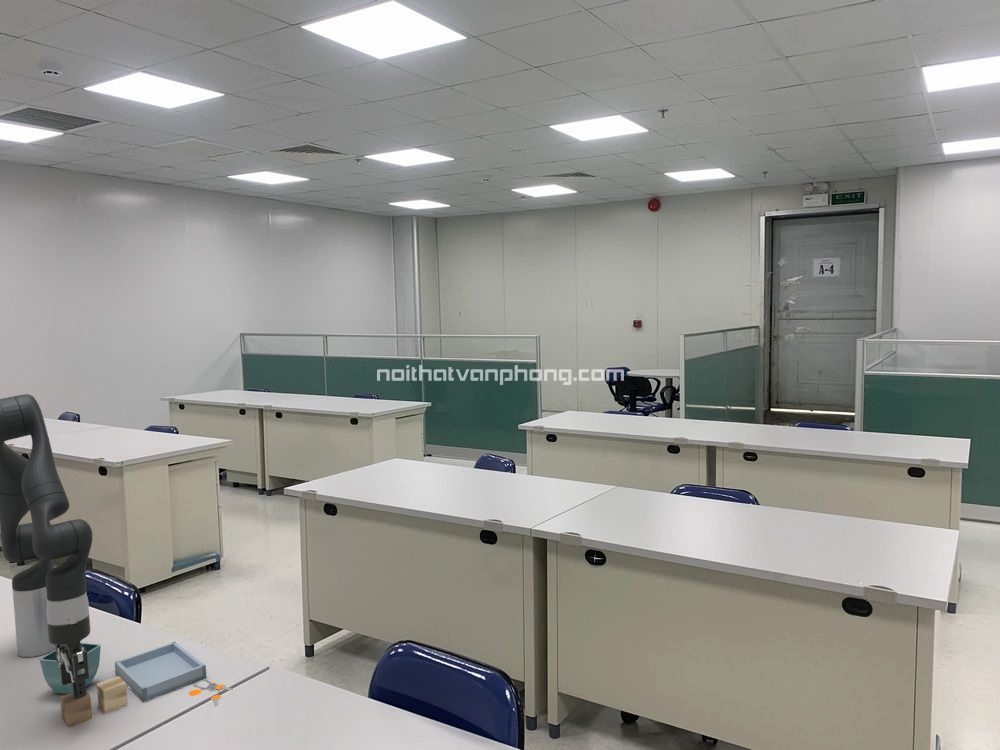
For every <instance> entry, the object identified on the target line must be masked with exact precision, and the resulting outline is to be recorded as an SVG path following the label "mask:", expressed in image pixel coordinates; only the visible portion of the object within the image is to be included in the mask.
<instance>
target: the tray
mask: <svg viewBox="0 0 1000 750" xmlns="http://www.w3.org/2000/svg"><path fill="white" fill-rule="evenodd" d="M206 667H207V666H206V664H205V663H204V662H202V661H200V659H198V658H197V657H195V656H194V655H193V654H192V653H190V652H189V651H187V649H185V648H183V647H182V645H180V644H179V643H177V642H176V641H173V642H170V643H167V644H163V645H160V646H158V647H156V648H151V649H150V650H147V651H144V652H140V653H138V654H134V655H131V656H130V657H129V656H128V657H126V658H123V659H120V660H117V661H115V662H114V668H115V669H114V671H115V675H116V676H117V675H118V676H119V677H120V678H121V679H122V680H124V681H125V682H126V684H127V685H128V686H129V687H130V688H131V689H132V690H133V691H134V692H135V693H136V694H137V695H138V696H137V695H136V694H135V693H134V692H133V691H132V690H131V689H130V688H129V687H128V686H127V685H126V686H127V687H128V688H129V689H130V690H131V691H132V692H133V693H134V694H135V695H136V696H137V697H138V698H139V699H140V700H141V702H143V703H145V702H147V701H150V700H153V699H155V698H157V697H156V696H158V697H160V696H163V695H165V693H166V694H168V693H170V692H173V691H176V690H178V689H181V688H183V687H185V686H188V685H191V684H193V683H194V684H195V683H197V682H199V681H201V680H204V679H206V678H207V668H206ZM118 676H117V677H118ZM162 694H163V695H162ZM154 697H155V698H154ZM152 698H153V699H152ZM149 699H150V700H149ZM144 701H145V702H144Z"/></svg>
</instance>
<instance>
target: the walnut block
mask: <svg viewBox="0 0 1000 750" xmlns="http://www.w3.org/2000/svg"><path fill="white" fill-rule="evenodd" d="M59 698H60V699H59V700H60V709H61V710H60V711H61V720H62V721H63V723H64V724H65V725H66V727H68V728H70V726H71V727H73V726H75V725H78V724H81V723H84V722H86V721H89V720H91V719H93V711H92V697H91V694H90V693H89V692H88V691H87V690H86V695H85V696H84V697H82V698H79V699H74V698H73V693H70V694H64V695H62V696H61V695H60V697H59Z"/></svg>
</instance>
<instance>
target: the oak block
mask: <svg viewBox="0 0 1000 750" xmlns="http://www.w3.org/2000/svg"><path fill="white" fill-rule="evenodd" d="M96 690H97V691H96V693H97V705H98V707H99V708H100V709H101V710H102V711H103V713H104V714H107V713H109V712H111V711H114V709H115V710H117V709H119V707H120V708H122V707H124V706H123V705H125V706H127V705H128V693H127V685H126V682H125V681H124V680H122V679H121V678H120V677H119V676H115V677H112V678H109V679H106V680H104V681H101V682H98V683H96ZM126 704H127V705H126ZM121 706H122V707H121Z"/></svg>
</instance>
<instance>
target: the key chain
mask: <svg viewBox="0 0 1000 750" xmlns="http://www.w3.org/2000/svg"><path fill="white" fill-rule="evenodd" d="M203 681H205V682H207V683H209V684H208V685H207V686H199V685H197V684H199V683H201V682H203ZM193 687H195V688H199V690H198V689H197V690H196V689H193V690H191V691H189V692H188V696H198V695H200V694H201V693H202V690H208V691H210V692H214V691H217V692H218V693H217V694H216V695H213V696H212V697H211V698H210V700H211V701H213V707H218V706H219V700H220V699H222V695H219V694H220V692H221V690H226V691H234V688H231V687H228V686H226V685H225V684H217V683H216V682H212V681H211V680H209V679H206V678H204V679H201V680H199V681H196V682H194V684H193Z"/></svg>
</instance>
